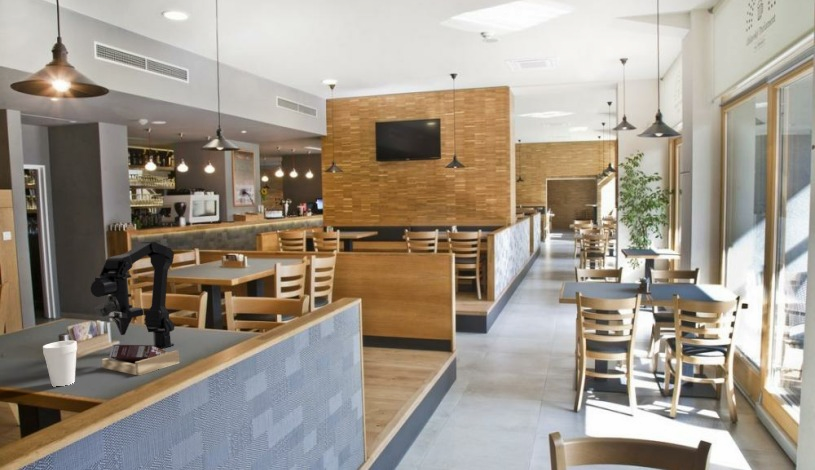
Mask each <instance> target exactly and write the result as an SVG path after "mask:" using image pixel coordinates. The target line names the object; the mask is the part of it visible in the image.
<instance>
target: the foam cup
mask: <svg viewBox="0 0 815 470" xmlns="http://www.w3.org/2000/svg"><path fill="white" fill-rule="evenodd" d="M42 351H43V354H42V355H43V356H44V358H45V363H46V367H47V372H48V375H49V380H50V383H51V386H53V388H57V387H56V386H64V387H66V386H65V385H68V386H70V384H71V385H73V384H75V383H74V382H75V381H76V368H77V366H76V365H77V351H78V343H77V340H60V341H55V342H50V343H46V344H44V345H42ZM72 383H73V384H72Z"/></svg>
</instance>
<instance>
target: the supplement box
mask: <svg viewBox="0 0 815 470" xmlns="http://www.w3.org/2000/svg"><path fill="white" fill-rule="evenodd" d="M153 345H154V344H149V345H148V344H147V345H146V344H112V346H111V349H110V353H109V357H108V359H113V360H118V361H123V362H128V363H135V362H137V361H141V360H144V359H148V358H151V357H154V356H158V355H161V354H165V353H167V351H166V350H164V349H163V348H162V349H160V348H157V347H155V346H153Z"/></svg>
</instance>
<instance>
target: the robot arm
mask: <svg viewBox="0 0 815 470" xmlns="http://www.w3.org/2000/svg"><path fill="white" fill-rule="evenodd" d="M174 256H175V252H174V251H173V249H172V248H171V247H168V246H165V245H162V244H161V243H158V242H156V241H154V240H146V241H145V240H144V241H143V242H141V243H140V244H138V245H137V246H135V247H133V248H132V249H130V250H128V251H126V252H125V253H123V254H118V255H113V256H111V257H108V258H106V260H105V262H104V265H103V267H102V269H101V272H100V274H99V276H96V277H94V281H92V283H91V286H90V293H91V294H92V295H93V297H96V298H100V297H105V296H107V300H106V301H104V302H102V303H100V304H98V305H97V306H95V307H94V311H95V312H96V314H97V316H98V317H105V318H106V317H108V318H109V319H111V320H112V321H114V322H115V323H114V324H115V325H116V327H117V329H118V331H119V334H120V335H121V336H125V335H126V333H127V330H128V328H129V326H130V323H131V321H132V320H133V318H136V317H141V316H144V315H145V316H144V320H143V321H144V323H145V327H146V330H147V332H148V333H152V334H153V344H152V345H153V346H155V347H157V348H160V349H162V350H163V349H164V348H168V347H169V348H170V347H171V346H175V343H172V341H171V340H172V339H171V338H172V337H171V332H173V331H174V330H175V325H176V324H175V323H174V322H173V321H172V320H171V319H170V314H169V313H170V312H169V310H168V308H167V306H166V301H167V299H166V298H167V285H168V284H167V283H168V273H169V272H168V271H169V269H170V268H171V267H172V265H173V262H174ZM144 257H148V258H149V259H150V265H151V266H152V267H153V283H152V296H151V306H150V307H149V309H146V310H145V311H144V308H142V307H138V306H134V307H133V305H132V304H130V298H131V297H132V293H129V285H128V284H129V282H128V279H131V278H132V275H131V274H130V273H128V272H129V271H130V270H131V269H132V268H133V266H134V264H135V263H137V262H138V261H140V260H141V259H144ZM108 315H110V316H108Z"/></svg>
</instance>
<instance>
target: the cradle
mask: <svg viewBox="0 0 815 470" xmlns="http://www.w3.org/2000/svg"><path fill="white" fill-rule="evenodd" d="M177 364H180V353H179V350H173V351H168V352H166V353H165V354H161V355H158V356H154V357H151V358H148V359H144V360H141V361H137V362H135V364H132V363H128V362H123V361H118V360H115V359H112V358H109V357H108V358H107V357H106V358H102V359H101V365H102V367H101V368H103V369H107V370H111V371H115V372H121V373H125V374H130V375H134V376H142V375H145V374H149V373H151V372H155V371H158V369H159V370H161V369H164V368H168V367H171V366H175V365H177Z"/></svg>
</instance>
